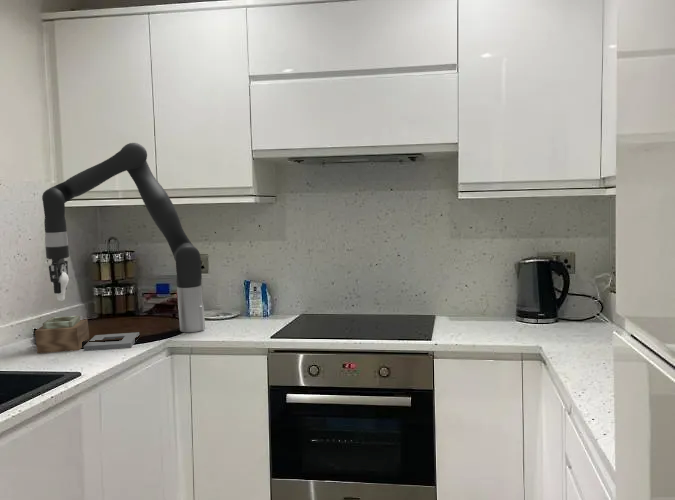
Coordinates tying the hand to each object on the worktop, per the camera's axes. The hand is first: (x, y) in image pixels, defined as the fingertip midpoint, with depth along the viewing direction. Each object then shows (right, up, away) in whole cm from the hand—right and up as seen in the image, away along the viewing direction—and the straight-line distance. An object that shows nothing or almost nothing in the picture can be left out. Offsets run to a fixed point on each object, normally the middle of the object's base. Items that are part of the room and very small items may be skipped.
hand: (60, 291), depth 232 cm
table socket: (+17, -19, +4) cm, 26 cm away
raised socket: (0, -20, +3) cm, 20 cm away
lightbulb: (0, -4, 0) cm, 4 cm away
